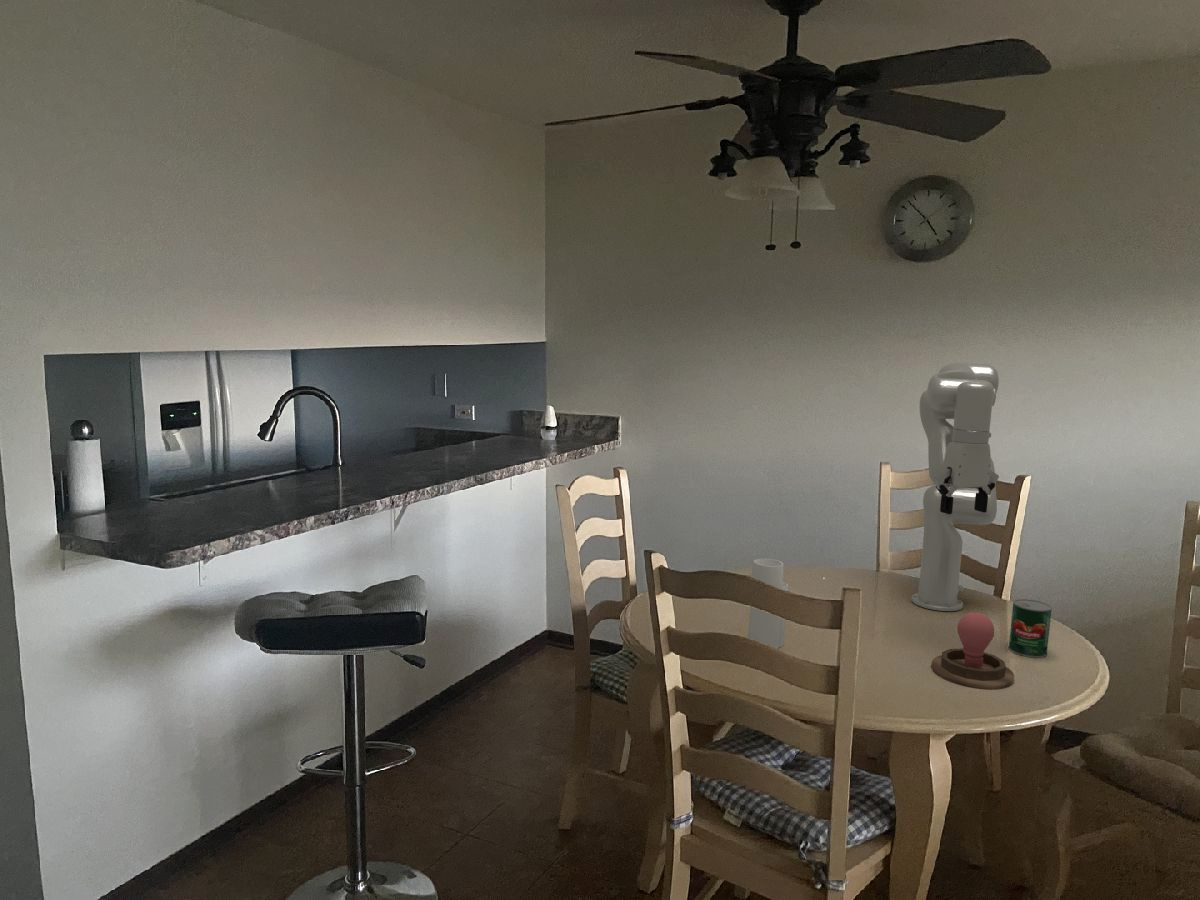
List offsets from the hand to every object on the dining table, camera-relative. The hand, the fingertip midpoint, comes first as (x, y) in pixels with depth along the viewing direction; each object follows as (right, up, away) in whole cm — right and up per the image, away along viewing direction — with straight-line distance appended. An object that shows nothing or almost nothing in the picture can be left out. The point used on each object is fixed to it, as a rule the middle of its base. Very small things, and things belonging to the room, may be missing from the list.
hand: (963, 512), depth 198 cm
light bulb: (-4, -32, -15) cm, 35 cm away
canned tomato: (+14, -32, -1) cm, 34 cm away
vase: (-46, -30, -4) cm, 55 cm away
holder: (-4, -33, -15) cm, 36 cm away
